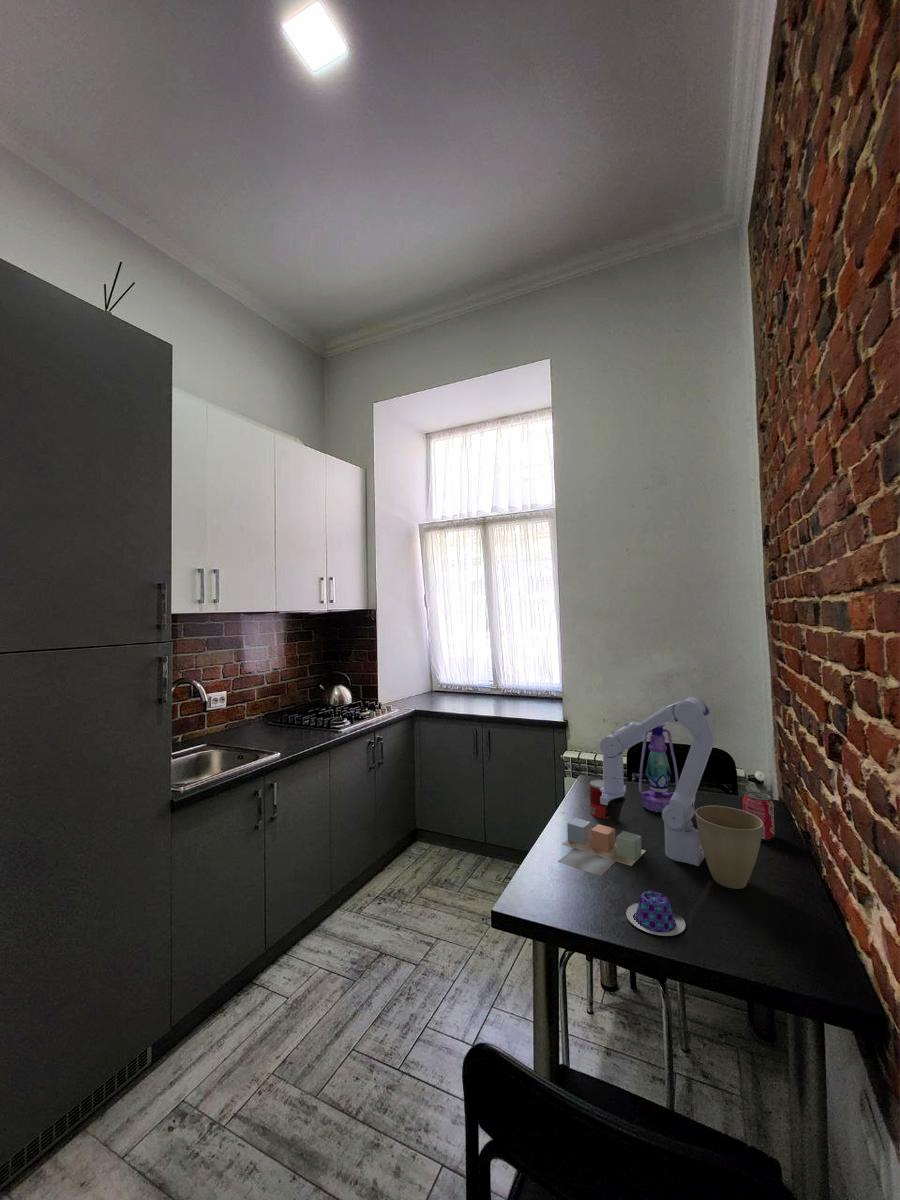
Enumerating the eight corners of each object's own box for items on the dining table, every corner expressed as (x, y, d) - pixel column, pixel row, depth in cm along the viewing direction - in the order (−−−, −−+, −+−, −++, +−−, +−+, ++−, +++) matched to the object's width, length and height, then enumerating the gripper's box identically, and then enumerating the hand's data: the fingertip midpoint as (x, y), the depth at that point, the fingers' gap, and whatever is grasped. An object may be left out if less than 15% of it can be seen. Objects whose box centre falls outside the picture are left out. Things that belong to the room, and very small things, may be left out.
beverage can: (765, 830, 153) (764, 791, 153) (780, 842, 145) (779, 800, 145) (738, 829, 154) (737, 790, 154) (751, 841, 146) (750, 800, 146)
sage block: (641, 854, 137) (640, 835, 137) (634, 861, 133) (634, 842, 133) (623, 848, 140) (623, 830, 140) (616, 855, 136) (616, 837, 136)
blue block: (591, 839, 146) (590, 822, 146) (583, 845, 142) (583, 827, 142) (575, 834, 149) (575, 817, 149) (567, 840, 145) (567, 823, 146)
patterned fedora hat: (614, 912, 112) (614, 889, 112) (656, 901, 117) (655, 878, 117) (654, 945, 101) (653, 919, 101) (698, 931, 105) (697, 905, 106)
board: (646, 854, 139) (645, 850, 139) (616, 885, 123) (616, 881, 123) (579, 834, 152) (579, 831, 152) (544, 860, 136) (544, 856, 136)
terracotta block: (615, 846, 141) (615, 828, 141) (608, 853, 137) (607, 834, 138) (598, 841, 145) (598, 824, 145) (591, 847, 141) (590, 829, 141)
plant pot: (729, 902, 115) (727, 832, 116) (683, 871, 129) (682, 809, 130) (780, 892, 119) (778, 824, 120) (730, 862, 133) (728, 802, 134)
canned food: (610, 823, 159) (609, 789, 159) (586, 817, 164) (586, 784, 164) (618, 816, 165) (618, 782, 166) (595, 810, 170) (594, 777, 170)
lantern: (645, 815, 166) (643, 724, 167) (634, 802, 177) (632, 717, 178) (686, 815, 165) (683, 724, 166) (671, 802, 177) (669, 717, 178)
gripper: (610, 767, 156) (610, 811, 155) (589, 779, 145) (590, 826, 144) (632, 772, 151) (633, 817, 151) (613, 784, 140) (614, 833, 140)
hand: (614, 822), depth 147 cm, fingers closed
